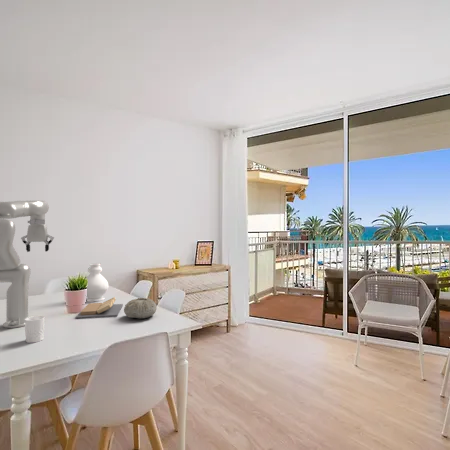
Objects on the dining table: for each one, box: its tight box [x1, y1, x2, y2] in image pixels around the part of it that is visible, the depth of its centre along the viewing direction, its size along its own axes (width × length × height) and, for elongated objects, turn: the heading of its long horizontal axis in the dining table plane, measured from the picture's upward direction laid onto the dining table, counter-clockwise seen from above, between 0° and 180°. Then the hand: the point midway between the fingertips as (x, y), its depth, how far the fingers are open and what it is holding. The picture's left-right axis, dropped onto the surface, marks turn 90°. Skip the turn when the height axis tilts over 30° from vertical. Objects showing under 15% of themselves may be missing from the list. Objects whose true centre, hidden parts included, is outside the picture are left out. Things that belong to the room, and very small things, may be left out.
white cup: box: [24, 315, 46, 344], centre depth 143 cm, size 8×8×10 cm
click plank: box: [97, 296, 117, 314], centre depth 192 cm, size 20×8×2 cm, turn 11°
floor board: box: [75, 302, 123, 320], centre depth 191 cm, size 26×22×3 cm
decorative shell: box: [123, 297, 157, 319], centre depth 180 cm, size 18×18×10 cm
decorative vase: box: [86, 262, 110, 303], centre depth 223 cm, size 18×18×25 cm
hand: (37, 251), depth 190 cm, fingers open, 9 cm apart
